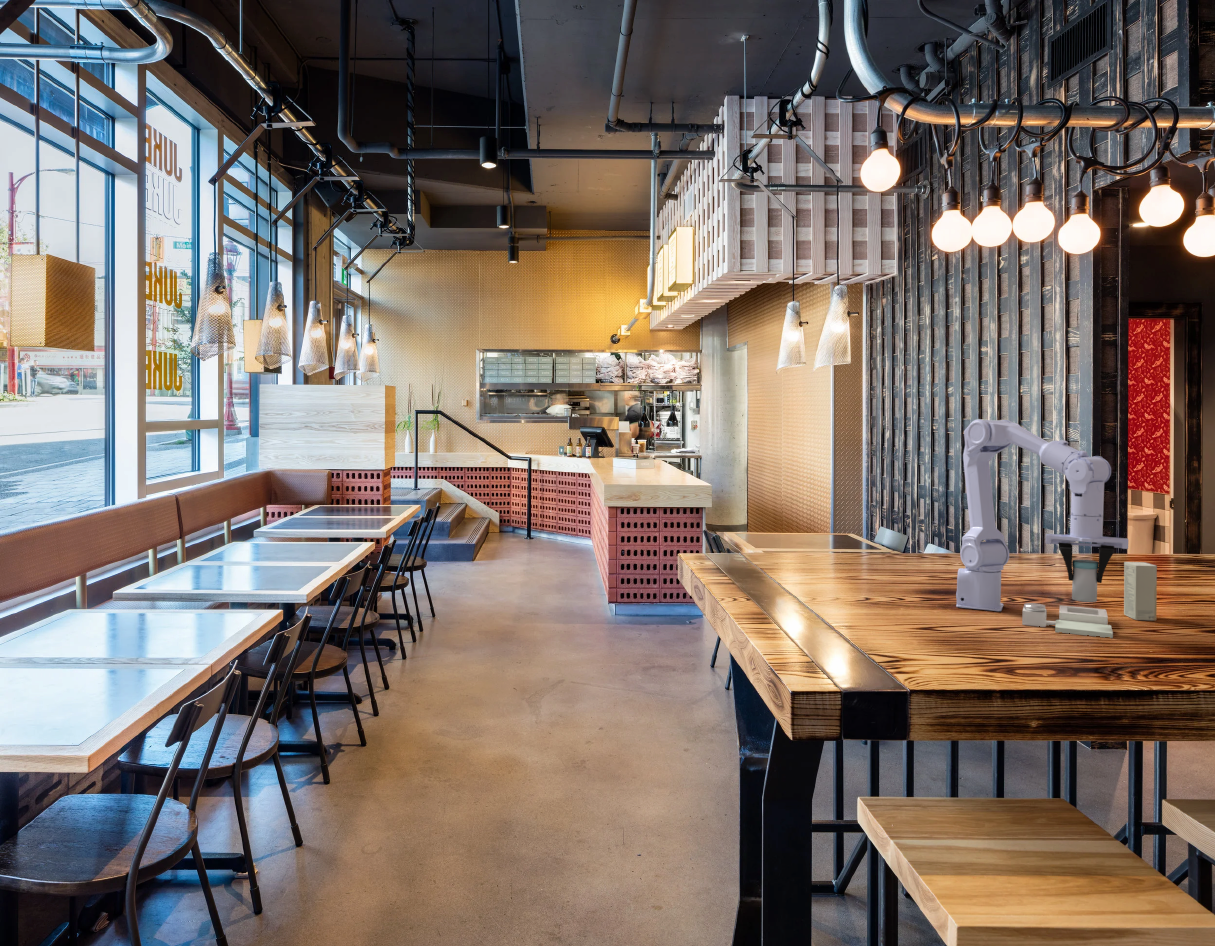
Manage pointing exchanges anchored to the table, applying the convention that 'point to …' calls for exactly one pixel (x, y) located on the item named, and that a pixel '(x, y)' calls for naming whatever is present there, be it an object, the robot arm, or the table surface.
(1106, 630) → the pad
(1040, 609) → the plunger
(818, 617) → the table surface
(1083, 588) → the cartridge
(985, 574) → the robot arm
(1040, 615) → the holder
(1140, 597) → the skincare box
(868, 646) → the table surface
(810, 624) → the table surface
